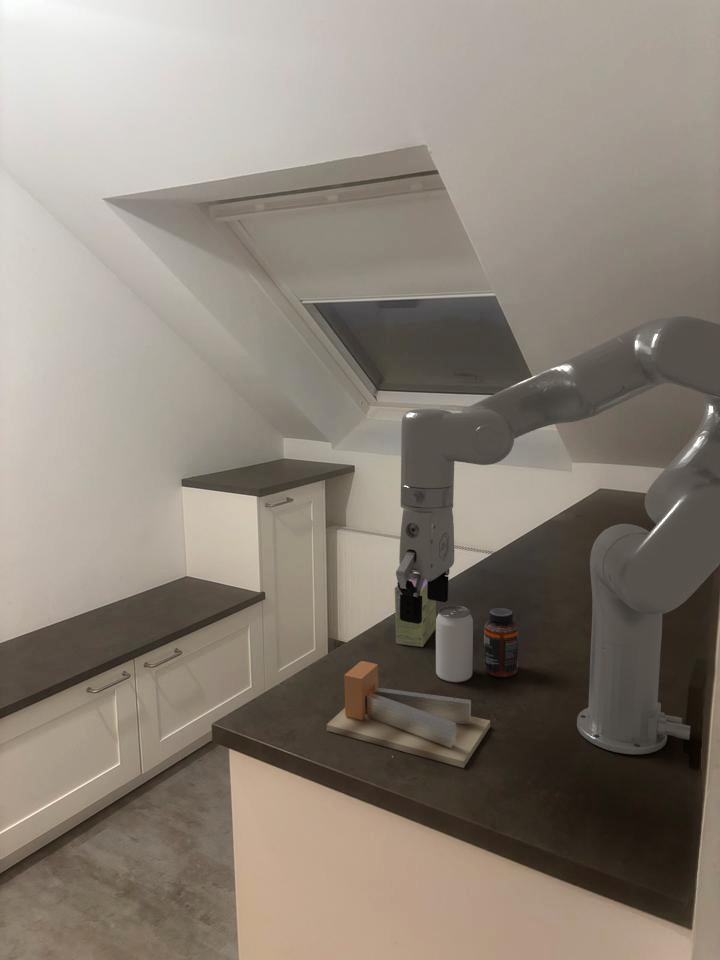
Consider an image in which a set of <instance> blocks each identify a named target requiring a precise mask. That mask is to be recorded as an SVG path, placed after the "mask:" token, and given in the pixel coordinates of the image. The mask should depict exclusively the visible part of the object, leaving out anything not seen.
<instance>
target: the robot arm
mask: <svg viewBox="0 0 720 960" xmlns="http://www.w3.org/2000/svg"><path fill="white" fill-rule="evenodd" d="M664 384H671V385H673V384H674V385H677V386H680V387H683V388H687V389H689V390H692V391H696V392H698V393H701V395H702V398H703V400H702V401H703V415H702V419H701V422H700V423H699V426H698V427H697V429H696V431H695V433H694V434H693V435H692V437H691V438H690V439H689V440H688V441H687V443H686V445H685V446H684V447H682V449H680V451H679V452H678V453H677V455H676V456H675V457H674V458H673V460H672V461H671V462H670V463H668V465H667V466H666V468H664V470H662V472H661V473H660V474H659V475H658V476H657V477H656V479H654V481H653V483H652V484H651V485H650V486H649V488H648V490H647V492H646V494H645V496H644V498H645V499H644V508H645V511H646V513H647V515H648V517H649V518H650V519H651V521H653V523H654V524H656V525H654V527H653V528H652V529H651V530H650V531H649V530H647V529H646V528H644V527H641V526H640V525H635V524H629V523H619V524H615V525H612V526H610V527H607V528H606V529H604V530H603V531H602V532H601V533H600V534H599V535H598V536H597V538H595V540H594V543H593V544H592V548H591V551H590V556H589V569H590V572H589V573H590V583H591V594H592V596H591V597H592V598H591V599H592V608H591V609H592V611H591V612H592V615H591V617H592V618H591V631H590V632H591V633H590V634H591V635H590V637H591V638H590V639H591V640H590V660H589V680H588V681H589V682H588V683H589V687H588V707H586V708H584V709H583V710H581V711H580V712H579V713H578V715H577V718H576V727H577V730H578V732H579V733H580V735H581V736H583V738H584V739H585V740H587V741H588V742H589V743H591V744H593V745H595V746H597V747H599V748H602V749H604V750H606V751H611V752H614V753H618V754H619V753H620V754H624V755H646V754H648V755H649V754H652V753H655V752H657V751H659V750H661V749H663V747H665V746H666V744H667V740H668V736H672V737H675V738H678V739H683V740H688V741H690V738H691V737H690V735H691V725H689V724H688V725H687V724H683V717H680V716H676V715H675V716H674V715H668V714H665V712H663V711H661V708H662V704H661V702H658V698H659V684H660V682H659V679H660V665H661V648H662V638H663V637H662V636H663V615H664V614H666V613H669V612H671V611H673V610H676V609H677V608H678V607H680V606H681V605H682V604H684V603H685V602H686V601H687V600H688V599H689V598H690V597H692V595H693V594H694V593H695V592H696V591H697V590H698V588H700V587H701V585H703V583H704V582H705V581H706V580H707V579H708V578H709V577H710V575H712V573H713V572H714V571H715V570H716V569H717V568H718V567H719V566H720V324H719V323H716V322H712V321H709V320H706V319H702V318H698V317H693V316H687V315H678V316H671V317H664V318H663V317H662V318H658V319H657V318H656V319H653V320H650V321H647V322H644V323H642V324H640V325H638V326H635V327H633V328H631V329H629V330H627V331H626V332H622V333H621V334H619V335H617V336H615V337H613V338H611V339H609V340H607V341H605V342H603V343H601V344H598V345H597V346H595V347H592V348H591V349H589V350H587V351H584V352H582V353H579V354H578V355H576V356H574V357H572V358H570V359H568V360H565V361H562V362H561V363H559V364H556V365H554V366H552V367H550V368H548V369H546V370H544V371H542V372H539V373H538V374H536V375H534V376H532V377H529V378H527V379H525V380H522V381H520V382H517V383H515V384H513V385H510V386H509V387H506V388H504V389H503V390H502V389H501V390H500V391H498V392H496V393H494V394H492V395H489V396H488V397H486V398H483V399H482V400H480V401H478V402H475V403H474V404H470V406H467V407H466V408H465V409H464V410H463V409H462V411H461V412H459V413H452V412H450V411H448V410H446V409H438V408H435V409H434V408H432V409H431V408H418V409H411V410H408V411H406V412H404V414H403V417H401V437H400V438H401V441H400V442H401V443H400V444H401V445H400V446H401V447H400V449H401V451H400V454H401V455H400V458H401V459H400V507H401V509H403V510H402V515H401V516H402V517H401V527H400V537H399V539H400V540H399V561H398V562H399V565H398V567H397V569H396V572H395V576H396V580H397V585H398V588H399V594H400V620H402V621H406V622H411V623H416V624H420V623H421V622H422V596H420V592H421V589H422V585H423V582H424V579H426V580H427V581H428V584H427V598H428V599H429V600H434V601H436V602H441V603H446V602H448V600H449V574H450V569H451V568H452V567H453V565H454V564H455V563H454V562H455V526H454V525H455V523H454V514H453V508H454V493H455V492H454V491H455V489H454V488H455V487H454V486H455V485H454V484H455V462H458V463H466V464H472V465H480V466H490V465H494V464H497V463H499V462H501V461H503V460H504V459H505V458H506V457H508V456H509V454H510V453H511V451H512V450H513V447H514V443H515V439H517V438H519V437H521V436H524V435H526V434H528V433H531V432H534V431H536V430H539V429H541V428H545V427H547V426H548V427H549V426H552V425H558V424H559V425H560V424H566V423H574V422H580V421H584V420H586V419H590V418H593V417H595V416H598V415H599V414H603V413H604V412H606V411H608V410H610V409H612V408H614V407H616V406H618V405H620V404H622V403H624V402H626V401H628V400H631V399H632V398H635V397H636V396H639V395H642V394H644V393H646V392H647V391H651V390H652V389H654V388H656V387H658V386H661V385H664ZM415 573H420V574H415ZM409 579H410V580H416V581H417V582H416V585H415V587H414V585H413V583H412V582H411V581H409Z"/></svg>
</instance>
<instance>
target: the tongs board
mask: <svg viewBox="0 0 720 960" xmlns="http://www.w3.org/2000/svg"><path fill="white" fill-rule="evenodd" d="M490 728H491V720H490V719H485V718H480V717H476V716H472V715H471V721H470V725H468V724H461V723H456V745H454V746H453V747H452V748H450V747H447V746H444V745H442V744H439V743H436V742H434V741H431V740H428V739H426V738H423V737H421V736H418V735H415V734H413V733H410V732H407V731H405V730H402V729H400V728H397V727H394V726H392V725H389V724H386V723H384V722H381V721H379V720H376V719H373V718H371V717H368V716H367V696H365V718H364V719H363V720H359V719H355V718H352V717H348V716H345V707H343V708H342V709H341V710H340V712H339V713H337V714H336V715H335V716H334V717H333V718H332V719H331V720H330V721H329V722H328V723H326V731H327V732H331V733H334V734H338V735H341V736H344V737H345V736H346V737H349V738H351V739H356V740H360V741H364V742H367V743H371V744H375V745H377V746H378V745H379V746H382V747H386V748H388V749H392V750H396V751H401V752H403V753H408V754H410V755H415V756H419V757H422V758H426V759H430V760H433V761H436V762H441V763H445V764H447V765H451V766H455V767H457V768H463V769H464V768H465V766H466V765H467V763H468V762H469V761H470V759H471V757H472V755H473V754H474V753H475V751H476V749H477V748H478V747H479V745H480V743H481V742H482V740H483V739H484V737H485V736H486V734H487V733H488V731H489V730H490Z"/></svg>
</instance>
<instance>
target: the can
mask: <svg viewBox="0 0 720 960" xmlns="http://www.w3.org/2000/svg"><path fill="white" fill-rule="evenodd" d="M473 654H474V621H473V617H472V615H471V609H469V608H467V607H465V606H461V605H447V606H442V607H440V608H439V609H438V614H437V615H436V629H435V673H436V675H437V677H438V678H439V679H440V680H442V681H444V682H449V683H463V682H466V681H468V680H470V679H471V677H472V676H473V671H474V670H473V669H474V668H473V667H474V666H473V665H474V663H473V661H474V659H473V658H474V655H473Z"/></svg>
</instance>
